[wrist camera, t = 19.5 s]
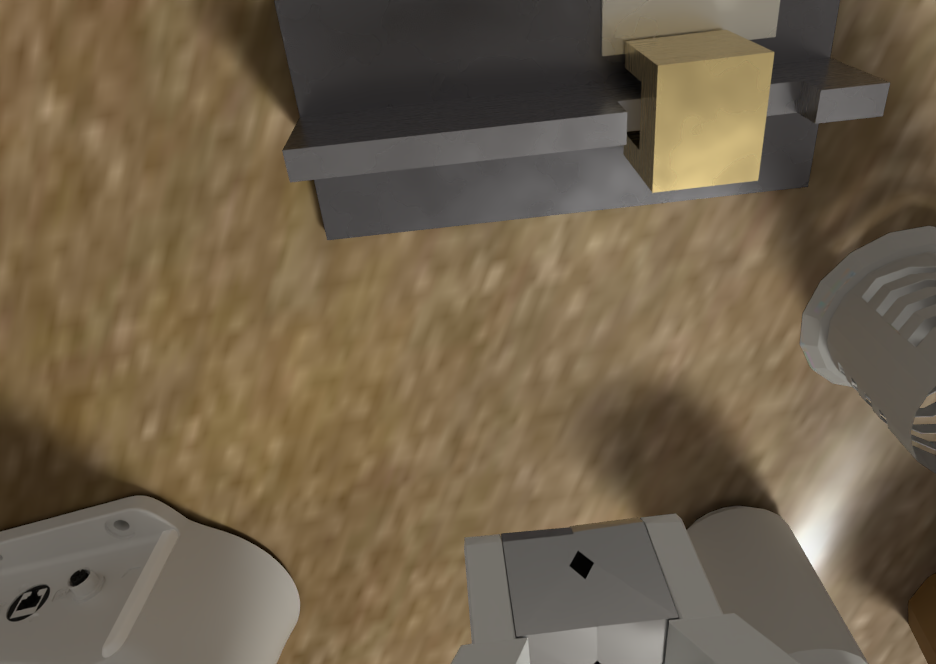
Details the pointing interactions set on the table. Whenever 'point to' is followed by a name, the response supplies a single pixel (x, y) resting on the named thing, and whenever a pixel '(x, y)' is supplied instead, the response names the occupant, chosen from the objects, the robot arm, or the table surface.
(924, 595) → the flowerpot
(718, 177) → the clip
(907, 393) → the french press
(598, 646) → the robot arm
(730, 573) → the can
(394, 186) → the rail
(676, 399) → the table surface
